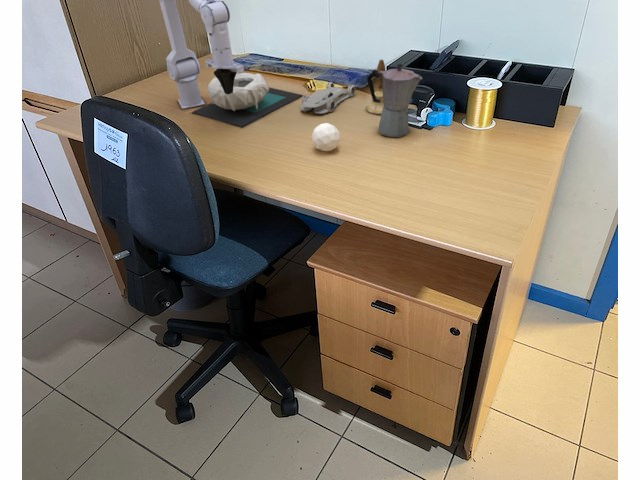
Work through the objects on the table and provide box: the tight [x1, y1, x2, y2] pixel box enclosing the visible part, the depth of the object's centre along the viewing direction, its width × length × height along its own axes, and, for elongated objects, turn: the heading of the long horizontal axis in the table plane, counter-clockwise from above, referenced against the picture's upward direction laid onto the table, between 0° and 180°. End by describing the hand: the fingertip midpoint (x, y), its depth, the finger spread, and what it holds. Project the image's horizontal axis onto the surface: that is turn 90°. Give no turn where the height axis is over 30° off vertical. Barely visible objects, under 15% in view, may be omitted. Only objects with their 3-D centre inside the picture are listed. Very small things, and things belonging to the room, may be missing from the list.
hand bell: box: [366, 59, 386, 115], centre depth 153 cm, size 8×8×16 cm
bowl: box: [206, 72, 270, 111], centre depth 162 cm, size 21×20×10 cm
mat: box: [191, 87, 304, 128], centre depth 168 cm, size 31×24×1 cm
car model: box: [300, 81, 356, 115], centre depth 163 cm, size 11×24×5 cm, turn 148°
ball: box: [311, 122, 341, 152], centre depth 135 cm, size 8×8×8 cm
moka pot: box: [366, 63, 423, 138], centre depth 138 cm, size 10×15×20 cm, turn 78°
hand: (229, 93), depth 149 cm, fingers closed
